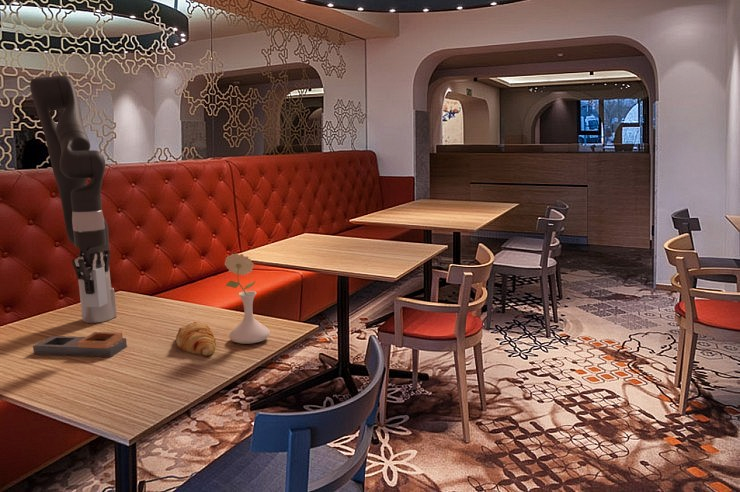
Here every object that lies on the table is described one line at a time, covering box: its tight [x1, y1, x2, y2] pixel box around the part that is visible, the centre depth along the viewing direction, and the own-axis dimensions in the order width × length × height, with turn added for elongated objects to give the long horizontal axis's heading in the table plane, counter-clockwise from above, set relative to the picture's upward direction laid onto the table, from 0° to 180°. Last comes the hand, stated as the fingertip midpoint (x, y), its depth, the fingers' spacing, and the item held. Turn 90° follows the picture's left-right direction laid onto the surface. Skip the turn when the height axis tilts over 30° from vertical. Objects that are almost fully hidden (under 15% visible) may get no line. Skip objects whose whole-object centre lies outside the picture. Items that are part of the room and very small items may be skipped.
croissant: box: [175, 321, 217, 357], centre depth 162 cm, size 21×10×8 cm, turn 39°
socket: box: [32, 331, 128, 358], centre depth 160 cm, size 22×8×4 cm, turn 83°
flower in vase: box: [224, 252, 271, 345], centre depth 165 cm, size 13×11×25 cm
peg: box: [82, 267, 108, 307], centre depth 157 cm, size 4×4×10 cm
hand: (95, 291), depth 157 cm, fingers closed on peg, 4 cm apart
